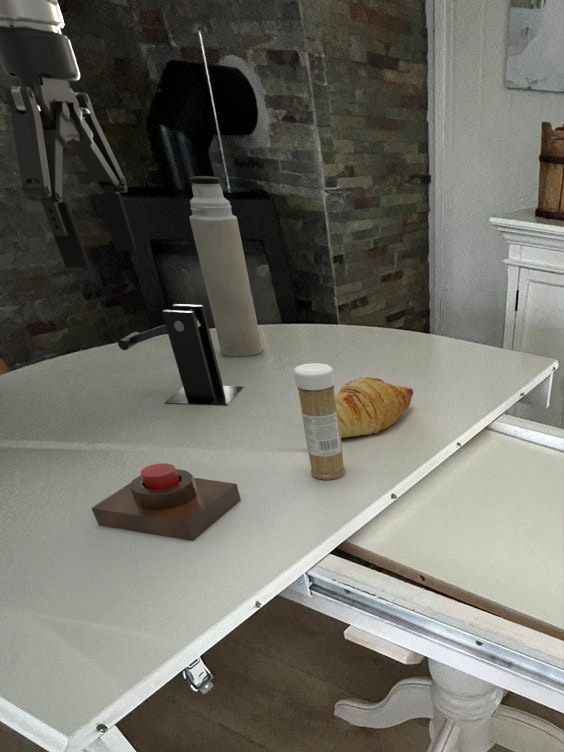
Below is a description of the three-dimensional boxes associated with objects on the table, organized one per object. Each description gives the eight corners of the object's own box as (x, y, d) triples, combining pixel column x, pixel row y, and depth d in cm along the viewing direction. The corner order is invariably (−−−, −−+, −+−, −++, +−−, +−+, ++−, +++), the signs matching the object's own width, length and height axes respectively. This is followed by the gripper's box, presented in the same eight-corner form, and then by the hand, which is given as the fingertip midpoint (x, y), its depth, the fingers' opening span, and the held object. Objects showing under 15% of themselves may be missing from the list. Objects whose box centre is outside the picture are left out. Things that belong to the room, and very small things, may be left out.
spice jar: (344, 465, 81) (331, 361, 72) (346, 480, 77) (333, 372, 69) (310, 467, 80) (293, 362, 71) (310, 482, 76) (292, 374, 68)
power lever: (123, 354, 90) (113, 338, 89) (138, 346, 94) (128, 330, 92) (193, 331, 88) (183, 314, 86) (204, 323, 92) (195, 306, 90)
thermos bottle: (240, 343, 123) (203, 174, 105) (270, 349, 121) (238, 177, 103) (212, 352, 118) (168, 175, 99) (243, 358, 115) (204, 178, 97)
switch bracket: (166, 410, 94) (136, 314, 85) (187, 391, 100) (161, 300, 91) (229, 412, 94) (206, 316, 85) (246, 393, 101) (226, 303, 92)
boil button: (138, 489, 66) (133, 474, 65) (159, 475, 69) (154, 461, 68) (167, 493, 65) (162, 478, 64) (186, 479, 68) (182, 465, 67)
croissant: (330, 471, 87) (341, 431, 80) (284, 425, 87) (291, 381, 81) (423, 427, 100) (439, 389, 93) (382, 387, 100) (395, 346, 94)
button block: (98, 525, 67) (84, 493, 64) (154, 487, 74) (143, 456, 71) (193, 541, 65) (182, 508, 62) (241, 500, 72) (233, 469, 70)
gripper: (-7, 13, 55) (86, 276, 69) (115, 43, 74) (168, 245, 87) (-89, 9, 55) (21, 274, 68) (54, 41, 73) (117, 244, 87)
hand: (104, 258), depth 78 cm, fingers open, 13 cm apart
